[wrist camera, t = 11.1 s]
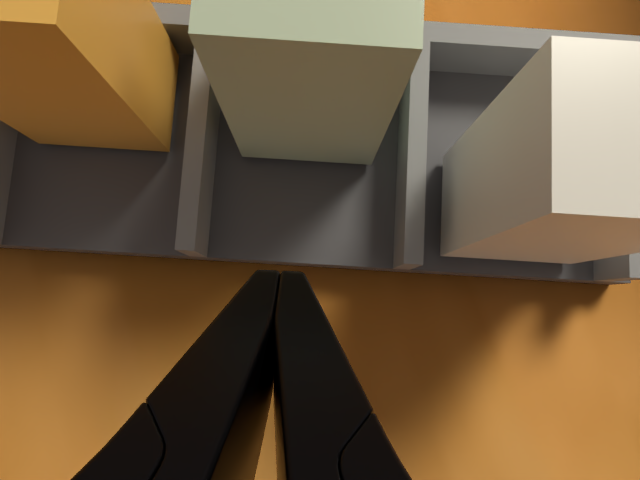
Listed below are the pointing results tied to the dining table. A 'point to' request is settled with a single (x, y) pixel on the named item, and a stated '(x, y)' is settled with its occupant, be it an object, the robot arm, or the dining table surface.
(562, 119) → the white rectangular block
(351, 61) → the pale green tall block
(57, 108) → the orange block
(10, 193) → the grey divided tray
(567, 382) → the dining table surface
